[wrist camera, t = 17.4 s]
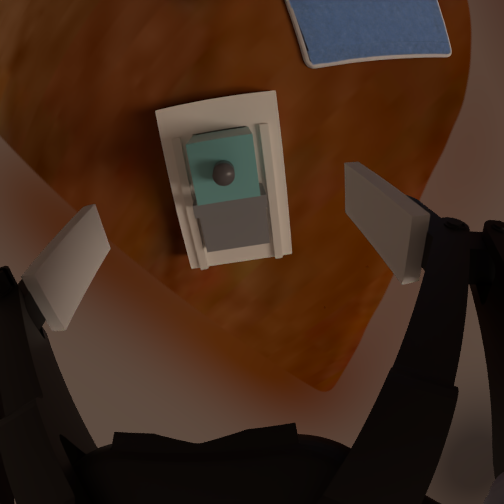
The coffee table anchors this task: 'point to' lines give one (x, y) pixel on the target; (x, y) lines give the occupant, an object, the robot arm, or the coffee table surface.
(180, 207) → the grey tray
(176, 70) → the coffee table surface
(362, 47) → the blue flat panel
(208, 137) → the plug
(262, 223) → the shutter
